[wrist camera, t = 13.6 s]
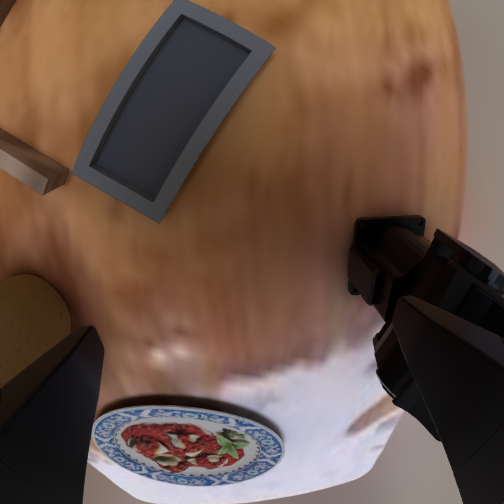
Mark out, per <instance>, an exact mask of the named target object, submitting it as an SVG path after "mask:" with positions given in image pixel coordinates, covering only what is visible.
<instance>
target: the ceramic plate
mask: <svg viewBox="0 0 504 504" xmlns="http://www.w3.org/2000/svg"><path fill="white" fill-rule="evenodd" d="M92 438H93V441H94V443H95V444H96V446H97V447H98V448H99V450H100V451H101V452H102V453H103V454H104V455H105V456H107V457H108V458H109V459H110V460H112V461H113V462H115V463H116V464H118V465H119V466H121V467H123V468H125V469H127V470H129V471H131V472H133V473H136V474H138V475H141V476H144V477H146V478H149V479H153V480H157V481H160V482H165V483H170V484H176V485H185V486H222V485H228V484H234V483H240V482H243V481H247V480H250V479H253V478H255V477H258V476H261V475H263V474H265V473H267V472H268V471H270V470H271V469H272V468H274V467H275V466H276V465H277V464H279V462H280V461H281V460H282V458H283V456H284V453H285V447H284V444H283V441H282V440H281V438H280V437H279V436H278V435H277V434H276V433H275V432H274V431H272V430H271V429H269V428H268V427H266V426H264V425H262V424H260V423H258V422H255V421H253V420H250V419H247V418H244V417H240V416H236V415H233V414H229V413H225V412H220V411H214V410H208V409H203V408H195V407H184V406H174V405H143V406H131V407H125V408H120V409H116V410H113V411H110V412H107V413H105V414H103V415H102V416H100V417H99V418H98V419H97V420H96V421H95V422H94V424H93V428H92Z"/></svg>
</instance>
